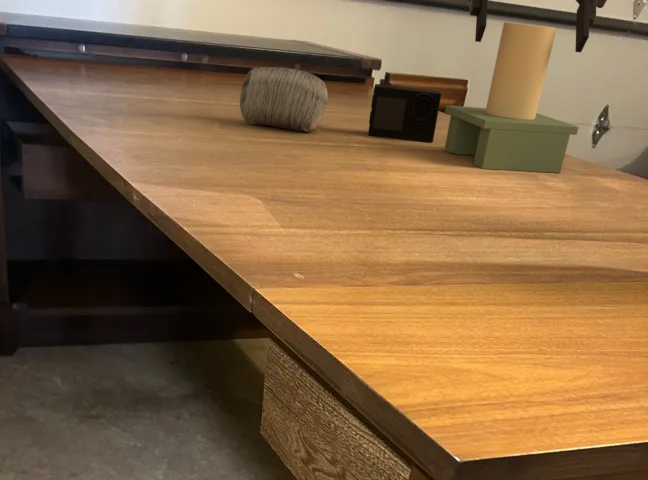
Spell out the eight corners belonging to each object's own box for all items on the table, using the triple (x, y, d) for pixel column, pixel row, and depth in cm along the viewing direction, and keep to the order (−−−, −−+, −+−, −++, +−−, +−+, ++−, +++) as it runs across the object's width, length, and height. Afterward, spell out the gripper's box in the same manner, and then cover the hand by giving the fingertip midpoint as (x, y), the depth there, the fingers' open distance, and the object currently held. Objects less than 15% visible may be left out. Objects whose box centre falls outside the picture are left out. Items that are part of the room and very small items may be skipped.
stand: (522, 154, 127) (532, 111, 123) (566, 173, 115) (579, 126, 112) (438, 149, 123) (446, 105, 120) (475, 168, 112) (485, 120, 109)
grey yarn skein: (220, 99, 123) (252, 35, 121) (242, 125, 132) (272, 66, 130) (294, 137, 120) (328, 72, 118) (311, 161, 129) (343, 101, 127)
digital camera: (367, 136, 128) (373, 86, 124) (367, 131, 133) (374, 82, 129) (433, 144, 128) (442, 93, 124) (431, 138, 132) (440, 90, 128)
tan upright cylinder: (521, 113, 120) (541, 25, 114) (543, 121, 114) (566, 29, 108) (477, 110, 118) (495, 21, 112) (497, 117, 113) (518, 24, 106)
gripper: (614, -59, 117) (612, 69, 113) (441, -77, 117) (432, 51, 112) (638, -109, 109) (637, 26, 105) (453, -129, 109) (444, 6, 105)
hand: (531, 39), depth 109 cm, fingers open, 13 cm apart
